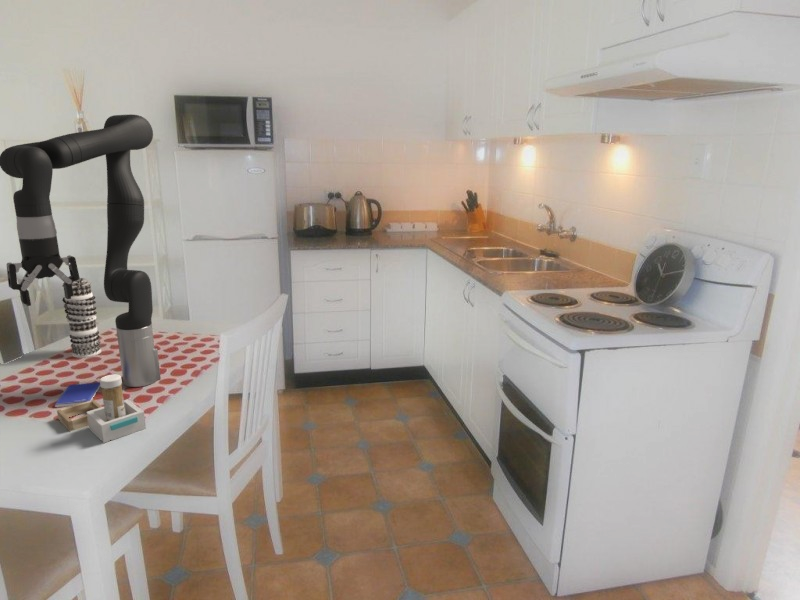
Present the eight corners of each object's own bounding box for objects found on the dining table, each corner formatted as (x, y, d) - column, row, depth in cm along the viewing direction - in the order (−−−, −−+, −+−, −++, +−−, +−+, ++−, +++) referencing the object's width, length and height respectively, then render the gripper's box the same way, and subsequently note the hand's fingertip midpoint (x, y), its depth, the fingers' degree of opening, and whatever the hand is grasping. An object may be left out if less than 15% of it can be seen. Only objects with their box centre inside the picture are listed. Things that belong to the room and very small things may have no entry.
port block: (129, 415, 141) (127, 399, 140) (146, 428, 135) (144, 412, 134) (88, 428, 135) (86, 411, 133) (104, 443, 128) (102, 426, 127)
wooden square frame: (95, 408, 145) (93, 399, 144) (107, 419, 139) (106, 410, 138) (58, 419, 139) (56, 410, 138) (70, 431, 133) (68, 422, 132)
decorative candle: (90, 359, 178) (79, 283, 171) (64, 357, 179) (52, 282, 172) (108, 349, 186) (99, 277, 180) (84, 347, 188) (73, 276, 181)
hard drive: (88, 400, 147) (100, 382, 158) (54, 403, 145) (68, 384, 156) (89, 406, 147) (101, 387, 159) (55, 409, 145) (69, 390, 157)
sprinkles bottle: (130, 428, 135) (123, 377, 131) (110, 434, 132) (103, 382, 128) (124, 422, 138) (117, 372, 134) (104, 428, 135) (96, 377, 131)
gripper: (66, 230, 136) (75, 293, 141) (-3, 236, 126) (9, 304, 131) (76, 233, 131) (86, 299, 136) (5, 240, 121) (18, 311, 126)
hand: (48, 301), depth 133 cm, fingers open, 8 cm apart
